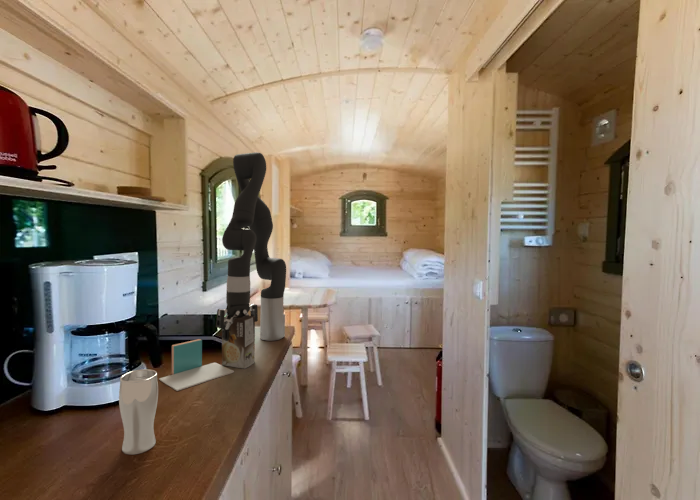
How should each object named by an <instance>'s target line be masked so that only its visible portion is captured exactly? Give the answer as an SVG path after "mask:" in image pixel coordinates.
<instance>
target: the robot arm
mask: <svg viewBox="0 0 700 500" xmlns="http://www.w3.org/2000/svg"><path fill="white" fill-rule="evenodd" d="M232 162H233V163H232V164H233V171H234V174H235V177H236V180H237V184H238V186H239V190H240V193H239V195H237V198H236V199H235V201H234V205H233V210H232V211H233V212H232V216H231V219H230V220H229V223H228V225H227V227H226V228H225V230H224V232H223V234H222V245H223V247H224V248H225V250H228V251H243V253H242V254H241V256H235V257H231V258H229V259H228V260H227V280H226V293H225V294H226V297H225V298H226V299H225V300H226V301H225V302H226V303H225V304H226V308H224V309H223V308H218V309H217V311H216V322H215V327H216V328H217V329H220V330H221V340H222V339H223V340H225V341H228V340H229V329H228V328H229V327H230V325H231V324H232V323H233V322H234V319H236V318H238V317H243V316H255V323H257V322H258V321H259V318H260V321H259V322H260V323H259V325H260V327H259V333H260V334H259V338H260V340H263V341H270V342H271V341H272V342H273V341H280V340H281V339H283V338H285V335H286V314H285V313H284V300H285V299H284V295H285V290H286V283H287V282H286V281H287V263H286V262H285V260H284V259H283V258H278V257H270V255H269V251H268V250H269V249H268V248H269V247H268V246H269V245H268V244H269V240H270V238H271V236H272V233H273V230H274V225H273V219H272V213H271V209H270V208H269V207H268V205H267V204H266V203H265V202H264V200H263V199H261V197H260V192H261V189H262V187H263V182H264V180H265V177H266V174H267V160H266V159H265V156H264V155H263V153H261V152H257V151H256V152H247V153H246V152H245V153H239V154H235V155H234V156H233V161H232ZM246 228H248V229H246ZM253 252H254V259H255V260H254V261H255V268H256V272H257V275H258V277H259V278H260V279H261V280H264V281H270V284H269V286H268V287H266V288H265V287H264V288H262V289H261V290H260V317H259V318H258V316H259V315H258V305H257V304H255V303H251V261H252V256H253ZM249 312H250V314H249ZM224 317H226V318H229V317H230V318H231V319H230V320H228V319H225V320H224ZM227 322H228V323H227Z"/></svg>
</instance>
